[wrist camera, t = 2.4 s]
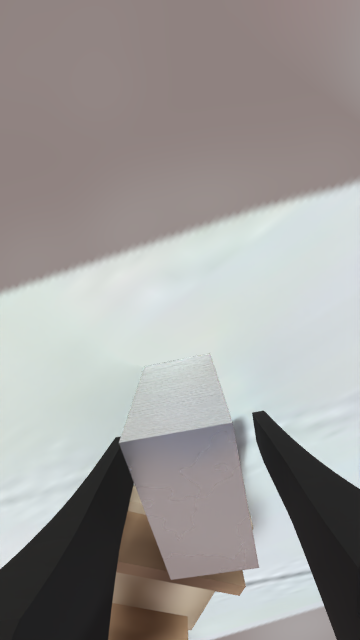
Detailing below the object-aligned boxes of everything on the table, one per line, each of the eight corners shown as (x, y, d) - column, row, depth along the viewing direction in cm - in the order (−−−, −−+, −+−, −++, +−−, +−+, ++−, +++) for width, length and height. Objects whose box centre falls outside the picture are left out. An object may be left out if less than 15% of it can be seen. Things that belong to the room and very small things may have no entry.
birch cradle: (248, 511, 16) (267, 579, 13) (190, 612, 20) (192, 685, 16) (120, 482, 15) (102, 546, 12) (84, 593, 19) (63, 666, 15)
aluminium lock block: (210, 352, 12) (232, 422, 7) (230, 455, 15) (258, 567, 9) (144, 365, 13) (118, 442, 7) (174, 465, 15) (170, 579, 10)
